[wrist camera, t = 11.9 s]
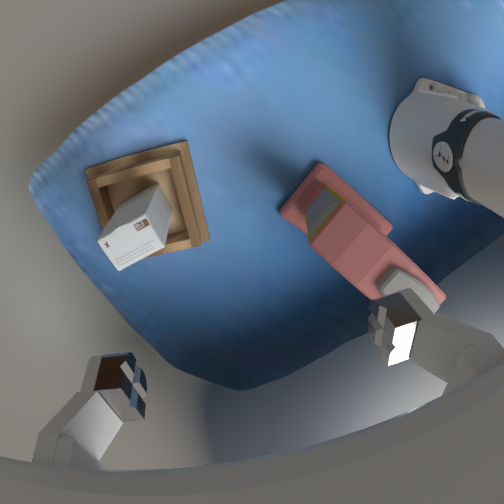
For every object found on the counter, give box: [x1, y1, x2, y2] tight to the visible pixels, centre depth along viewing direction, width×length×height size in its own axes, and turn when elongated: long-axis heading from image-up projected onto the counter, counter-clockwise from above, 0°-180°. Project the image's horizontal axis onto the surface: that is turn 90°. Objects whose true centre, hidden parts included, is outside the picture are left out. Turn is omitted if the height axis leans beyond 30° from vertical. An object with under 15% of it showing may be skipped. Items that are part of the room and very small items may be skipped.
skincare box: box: [97, 183, 173, 271], centre depth 35 cm, size 6×4×12 cm
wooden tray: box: [85, 141, 210, 258], centre depth 39 cm, size 14×14×4 cm
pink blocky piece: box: [279, 162, 446, 313], centre depth 37 cm, size 22×9×22 cm, turn 53°
